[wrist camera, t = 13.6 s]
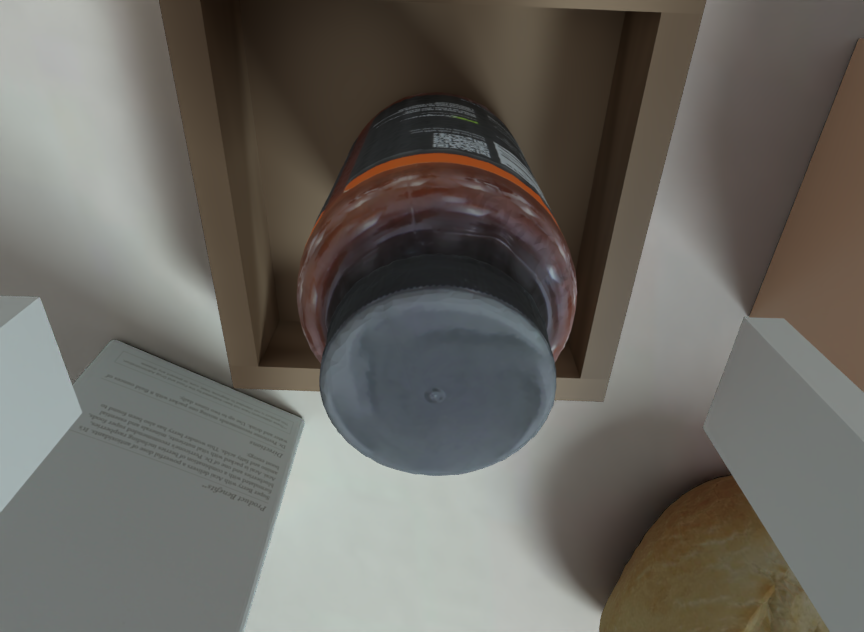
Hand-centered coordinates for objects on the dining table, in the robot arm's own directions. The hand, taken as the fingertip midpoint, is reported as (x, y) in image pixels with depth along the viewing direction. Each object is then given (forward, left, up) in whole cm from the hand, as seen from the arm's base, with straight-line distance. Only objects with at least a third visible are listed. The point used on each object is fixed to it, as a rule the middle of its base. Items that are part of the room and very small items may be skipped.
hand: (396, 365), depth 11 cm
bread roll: (+15, -20, -11) cm, 27 cm away
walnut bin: (0, 0, -10) cm, 10 cm away
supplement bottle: (+1, +1, -10) cm, 10 cm away
